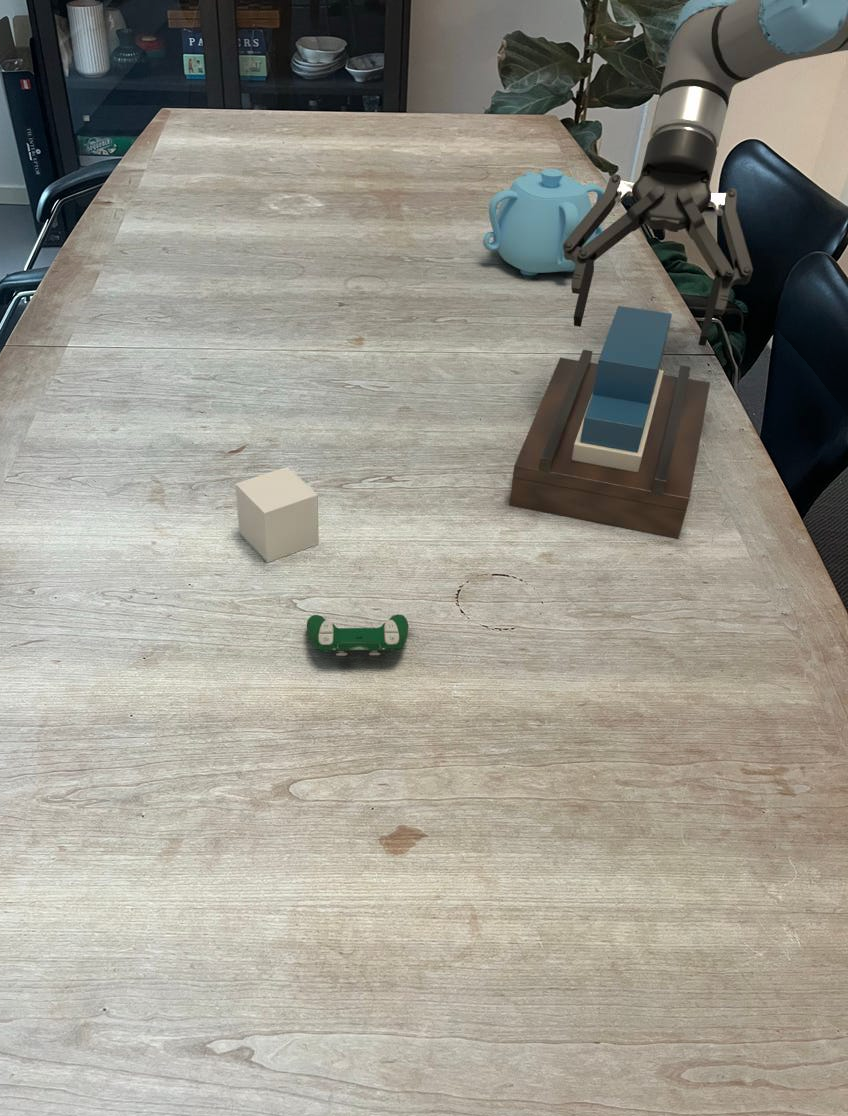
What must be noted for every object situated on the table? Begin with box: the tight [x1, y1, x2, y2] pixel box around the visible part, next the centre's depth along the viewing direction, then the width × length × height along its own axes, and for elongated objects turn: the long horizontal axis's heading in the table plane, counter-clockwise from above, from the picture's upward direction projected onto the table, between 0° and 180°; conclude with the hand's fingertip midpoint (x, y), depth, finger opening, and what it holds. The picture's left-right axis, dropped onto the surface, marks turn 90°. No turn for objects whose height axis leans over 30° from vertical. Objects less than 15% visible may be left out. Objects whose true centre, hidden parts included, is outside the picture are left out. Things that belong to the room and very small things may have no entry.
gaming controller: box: [306, 613, 409, 657], centre depth 93 cm, size 9×4×6 cm
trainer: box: [572, 305, 673, 472], centre depth 112 cm, size 20×7×9 cm, turn 162°
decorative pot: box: [482, 168, 605, 276], centre depth 157 cm, size 16×16×14 cm
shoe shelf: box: [508, 349, 711, 539], centre depth 116 cm, size 18×26×6 cm
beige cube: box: [234, 466, 320, 563], centre depth 104 cm, size 6×6×6 cm
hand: (639, 331), depth 113 cm, fingers open, 13 cm apart
